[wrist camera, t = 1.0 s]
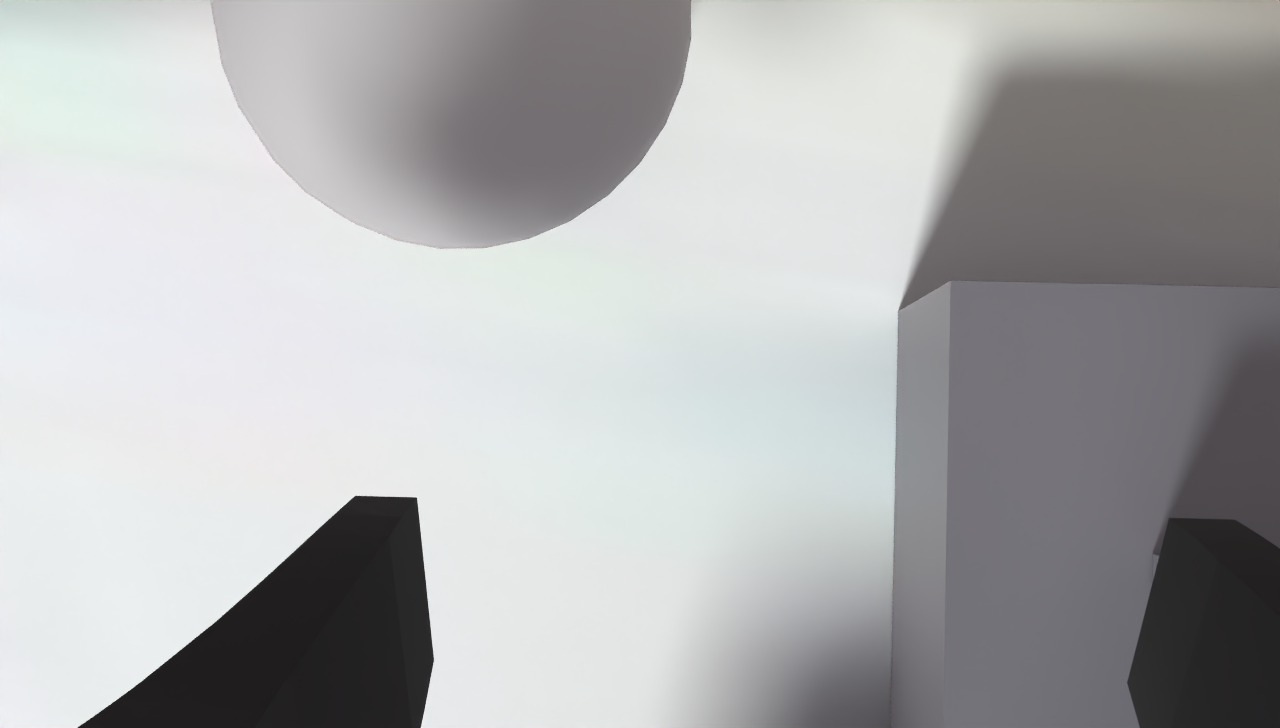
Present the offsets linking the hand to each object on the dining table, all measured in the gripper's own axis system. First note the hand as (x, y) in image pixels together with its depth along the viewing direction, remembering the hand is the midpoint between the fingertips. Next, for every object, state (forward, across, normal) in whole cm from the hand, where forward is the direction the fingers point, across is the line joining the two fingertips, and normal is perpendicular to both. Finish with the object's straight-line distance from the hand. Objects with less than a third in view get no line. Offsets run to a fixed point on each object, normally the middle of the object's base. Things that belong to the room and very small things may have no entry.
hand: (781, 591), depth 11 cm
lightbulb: (+14, +4, 0) cm, 14 cm away
